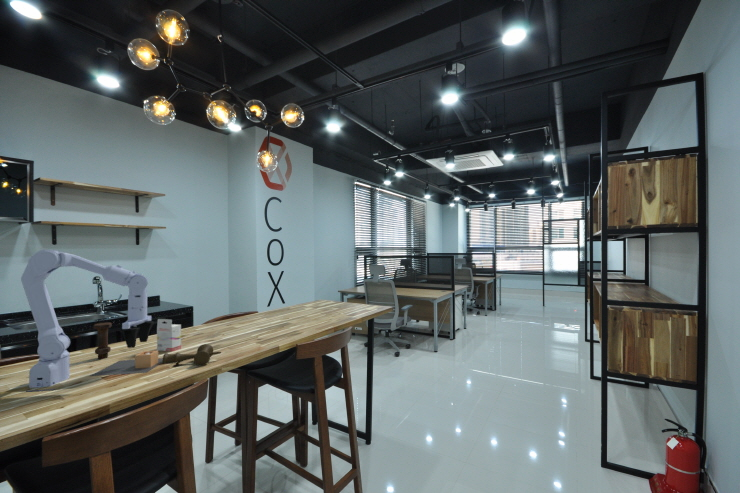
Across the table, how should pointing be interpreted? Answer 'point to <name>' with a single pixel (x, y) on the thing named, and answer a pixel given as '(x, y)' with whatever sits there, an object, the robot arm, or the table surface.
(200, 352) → the kendama
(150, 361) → the tan cube block
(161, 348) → the ink cartridge box
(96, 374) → the board
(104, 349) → the bolt
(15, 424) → the table surface
